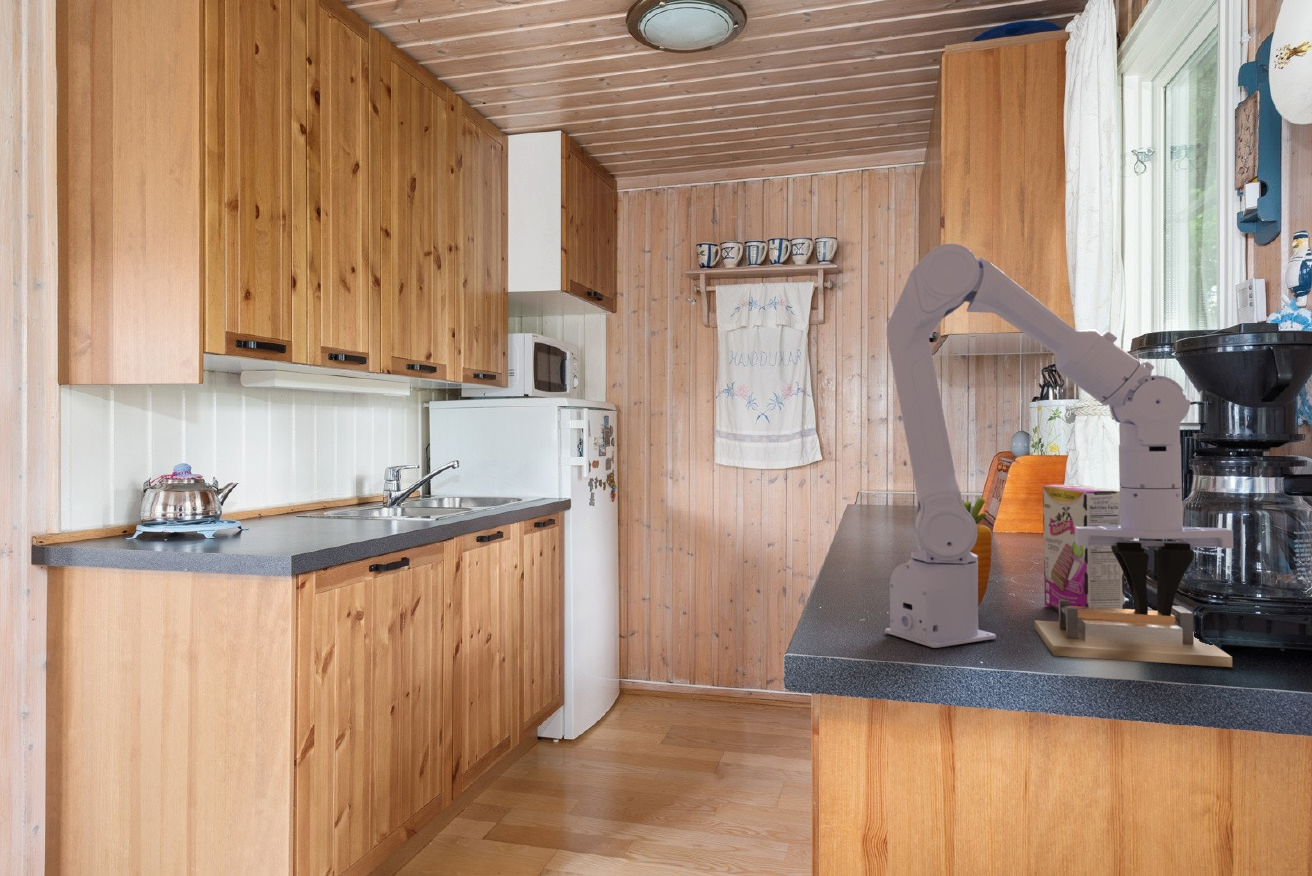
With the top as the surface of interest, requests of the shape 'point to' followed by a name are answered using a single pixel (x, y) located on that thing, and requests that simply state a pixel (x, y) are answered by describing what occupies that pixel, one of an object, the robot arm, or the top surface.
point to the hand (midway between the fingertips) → (1152, 613)
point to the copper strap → (1121, 615)
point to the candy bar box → (1080, 548)
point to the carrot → (981, 547)
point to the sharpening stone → (1129, 629)
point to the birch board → (1130, 649)
